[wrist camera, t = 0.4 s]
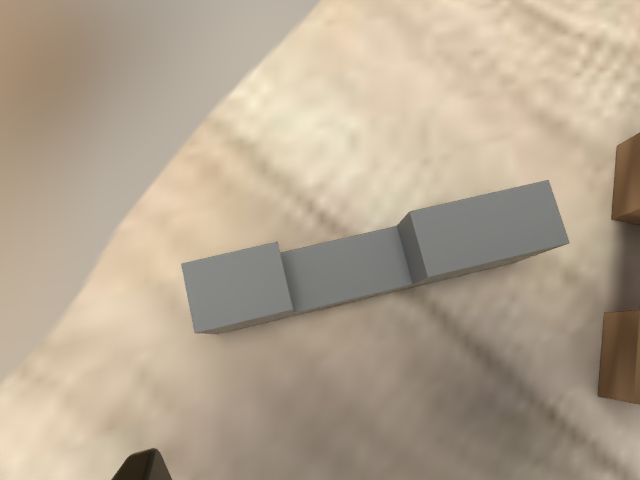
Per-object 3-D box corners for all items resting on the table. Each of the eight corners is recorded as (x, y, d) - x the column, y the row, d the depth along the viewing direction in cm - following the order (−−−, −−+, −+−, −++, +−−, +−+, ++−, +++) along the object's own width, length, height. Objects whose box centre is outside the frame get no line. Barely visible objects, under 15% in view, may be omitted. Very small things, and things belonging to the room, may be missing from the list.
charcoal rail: (498, 211, 25) (548, 179, 20) (514, 262, 24) (569, 242, 19) (205, 279, 23) (181, 263, 18) (216, 334, 23) (194, 332, 18)
